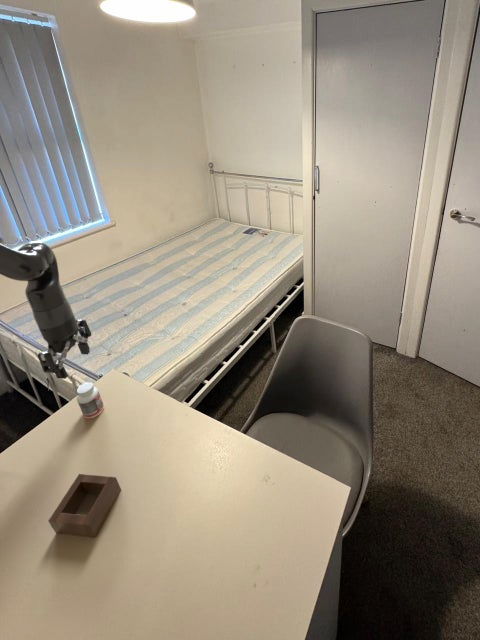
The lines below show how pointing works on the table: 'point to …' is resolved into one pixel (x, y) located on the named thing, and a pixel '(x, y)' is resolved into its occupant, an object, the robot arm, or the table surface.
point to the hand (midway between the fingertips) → (75, 365)
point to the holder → (65, 512)
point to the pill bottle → (89, 400)
